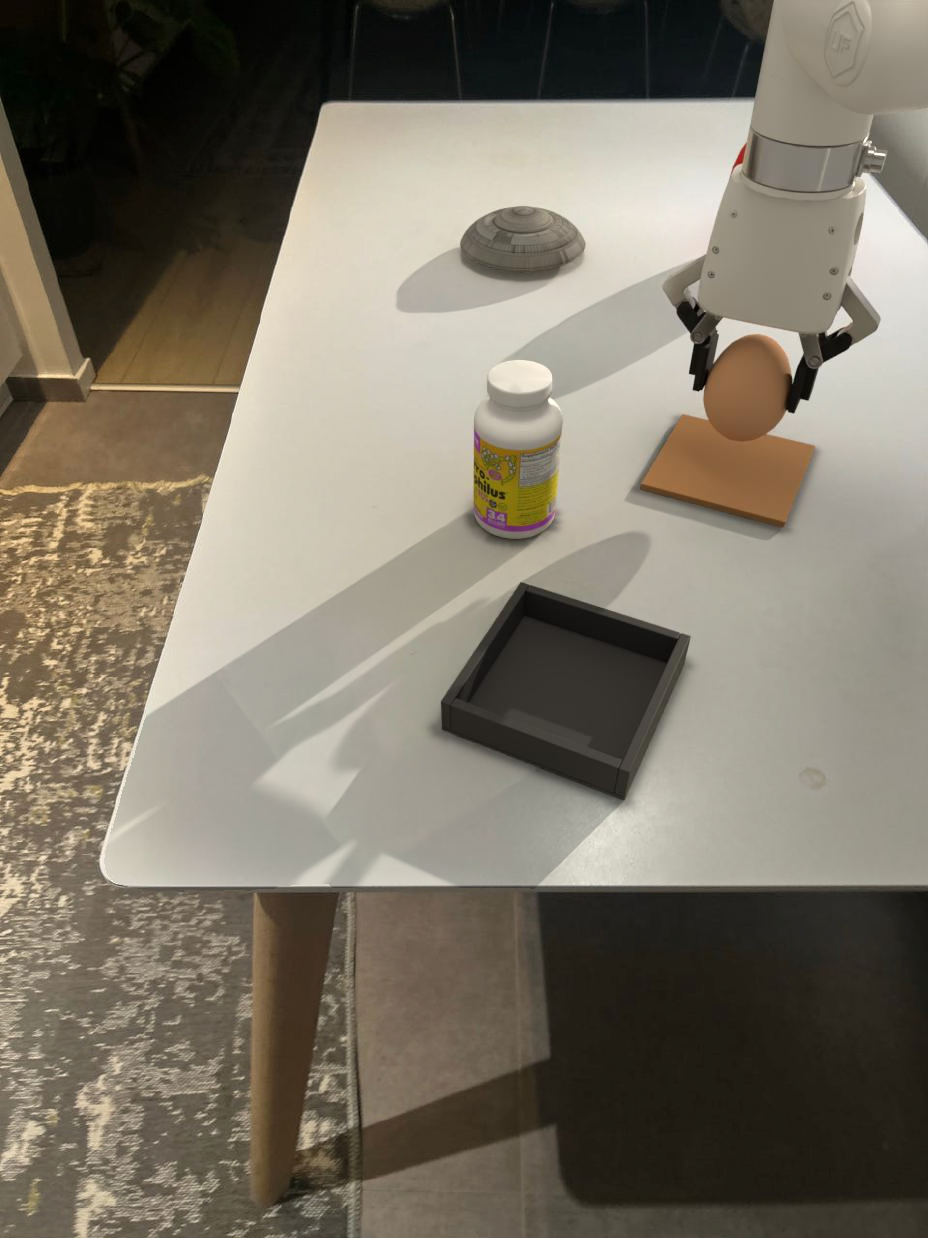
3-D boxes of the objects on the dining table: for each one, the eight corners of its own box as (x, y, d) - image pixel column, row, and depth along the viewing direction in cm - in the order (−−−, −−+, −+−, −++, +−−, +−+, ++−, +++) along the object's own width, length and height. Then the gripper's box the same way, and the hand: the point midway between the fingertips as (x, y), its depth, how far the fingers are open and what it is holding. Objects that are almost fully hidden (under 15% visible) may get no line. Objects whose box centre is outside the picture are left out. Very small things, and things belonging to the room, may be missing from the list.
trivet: (813, 451, 81) (815, 445, 81) (783, 528, 74) (785, 522, 73) (681, 419, 85) (682, 413, 85) (639, 489, 77) (640, 483, 77)
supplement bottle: (460, 504, 76) (458, 363, 67) (530, 484, 78) (538, 344, 69) (496, 552, 72) (498, 408, 63) (570, 529, 74) (583, 386, 65)
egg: (679, 429, 78) (696, 330, 71) (738, 406, 80) (760, 308, 74) (735, 468, 74) (759, 367, 67) (796, 443, 76) (824, 343, 70)
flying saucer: (511, 293, 104) (513, 245, 100) (435, 250, 113) (434, 204, 109) (610, 259, 110) (615, 212, 106) (531, 220, 119) (533, 176, 115)
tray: (684, 664, 63) (691, 635, 61) (624, 800, 55) (629, 772, 53) (519, 609, 67) (520, 581, 65) (441, 729, 59) (440, 701, 57)
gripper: (945, 159, 61) (866, 396, 74) (691, 125, 67) (657, 350, 79) (932, 197, 56) (849, 443, 69) (659, 157, 62) (628, 391, 75)
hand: (747, 392), depth 74 cm, fingers closed on egg, 6 cm apart
